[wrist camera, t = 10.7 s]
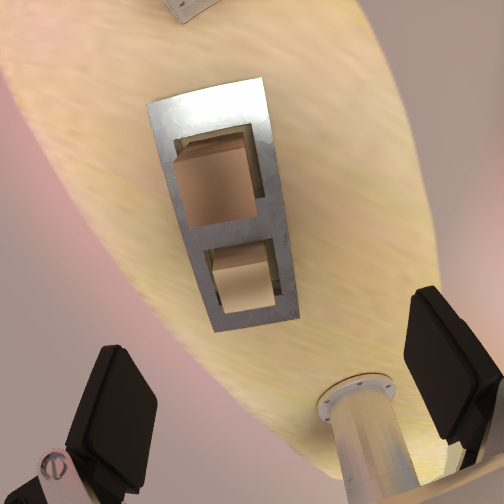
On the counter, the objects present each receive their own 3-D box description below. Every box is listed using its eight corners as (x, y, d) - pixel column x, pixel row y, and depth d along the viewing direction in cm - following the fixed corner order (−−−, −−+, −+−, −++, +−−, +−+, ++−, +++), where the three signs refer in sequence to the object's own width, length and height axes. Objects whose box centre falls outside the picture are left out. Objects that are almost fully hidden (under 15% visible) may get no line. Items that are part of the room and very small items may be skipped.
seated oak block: (270, 274, 33) (275, 304, 29) (226, 282, 33) (224, 313, 29) (262, 234, 31) (267, 261, 26) (215, 243, 31) (212, 271, 27)
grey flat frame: (296, 303, 35) (300, 318, 33) (215, 317, 35) (214, 332, 33) (259, 78, 24) (261, 77, 22) (154, 102, 24) (146, 104, 22)
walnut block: (242, 131, 26) (244, 148, 19) (252, 181, 28) (257, 216, 21) (189, 142, 26) (172, 163, 19) (201, 191, 28) (189, 228, 21)
